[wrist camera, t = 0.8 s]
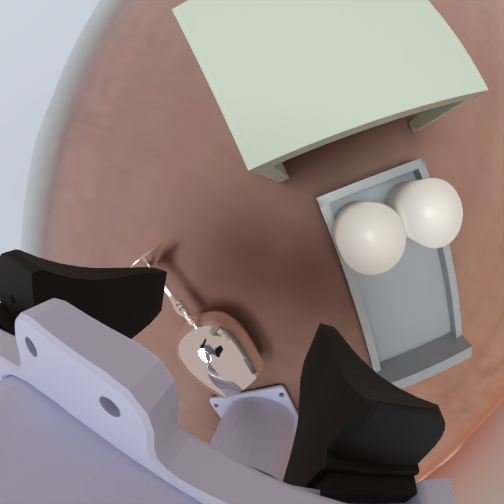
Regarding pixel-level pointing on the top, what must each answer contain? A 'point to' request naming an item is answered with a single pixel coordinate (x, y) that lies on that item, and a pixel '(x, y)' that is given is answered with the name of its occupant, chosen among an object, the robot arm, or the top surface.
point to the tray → (401, 269)
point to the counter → (324, 70)
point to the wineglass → (211, 343)
